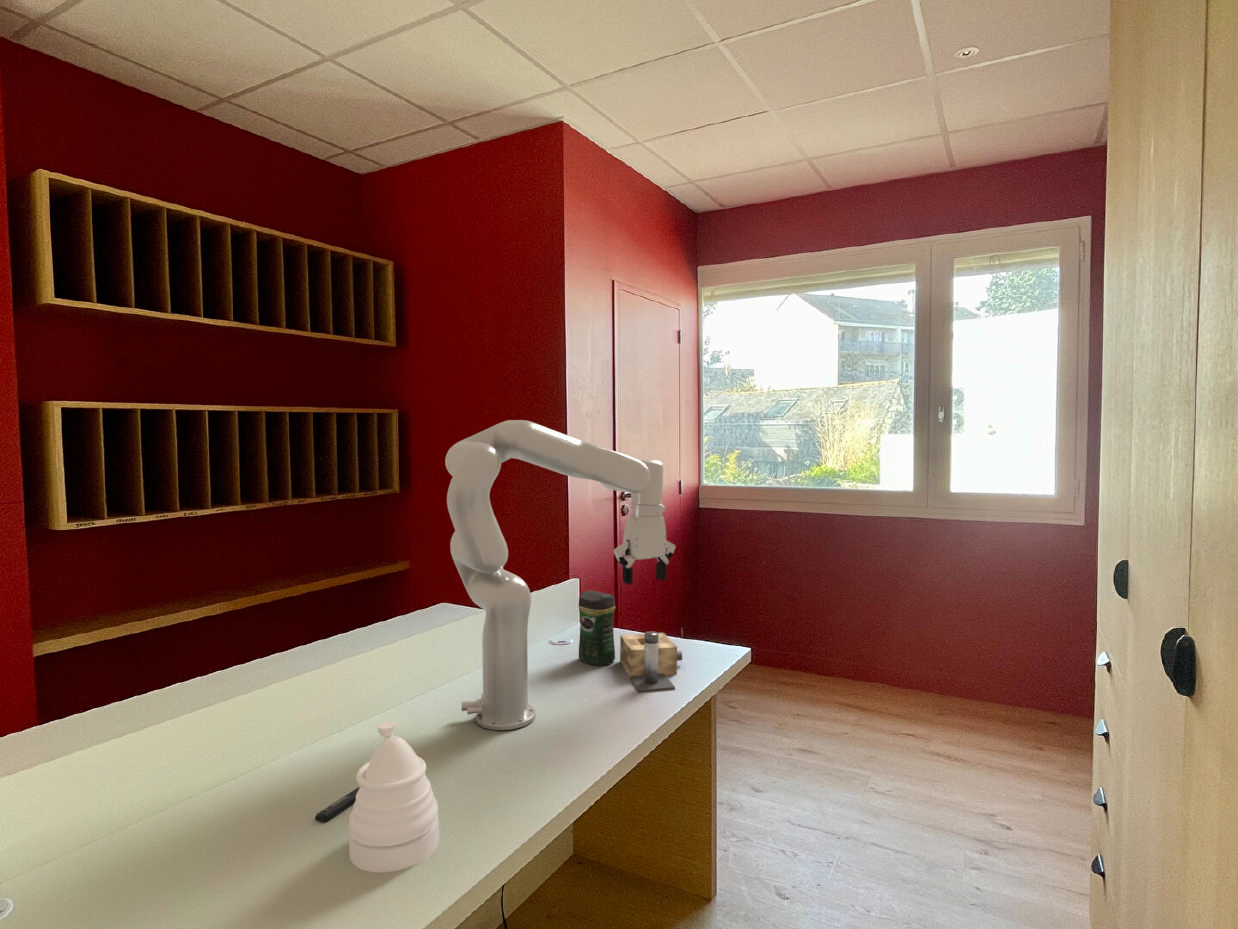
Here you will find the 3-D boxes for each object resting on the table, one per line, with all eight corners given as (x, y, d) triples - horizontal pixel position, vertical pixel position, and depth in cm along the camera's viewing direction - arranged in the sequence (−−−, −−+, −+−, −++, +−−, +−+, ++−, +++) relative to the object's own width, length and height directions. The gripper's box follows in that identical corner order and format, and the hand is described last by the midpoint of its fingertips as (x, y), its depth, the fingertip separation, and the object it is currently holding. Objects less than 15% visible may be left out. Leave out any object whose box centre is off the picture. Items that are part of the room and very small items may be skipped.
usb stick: (357, 793, 119) (357, 784, 119) (369, 796, 118) (369, 788, 118) (313, 822, 110) (313, 813, 110) (325, 826, 109) (325, 817, 109)
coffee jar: (620, 660, 184) (620, 592, 182) (599, 668, 178) (600, 598, 176) (593, 652, 190) (593, 586, 189) (573, 660, 184) (573, 591, 183)
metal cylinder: (641, 681, 168) (641, 633, 167) (652, 678, 170) (652, 630, 169) (650, 685, 165) (650, 636, 164) (661, 682, 167) (661, 634, 166)
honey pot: (334, 844, 104) (332, 728, 103) (413, 810, 113) (411, 704, 112) (372, 885, 95) (370, 759, 94) (454, 845, 104) (453, 729, 103)
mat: (638, 692, 162) (638, 690, 162) (629, 678, 171) (629, 676, 171) (674, 689, 164) (674, 687, 164) (664, 675, 173) (664, 673, 173)
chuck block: (630, 677, 171) (631, 650, 171) (620, 661, 183) (620, 635, 183) (688, 673, 175) (688, 646, 174) (674, 657, 186) (674, 632, 186)
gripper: (666, 508, 172) (664, 575, 173) (607, 510, 163) (605, 582, 164) (684, 511, 166) (682, 581, 167) (624, 514, 157) (622, 588, 158)
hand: (644, 581), depth 166 cm, fingers open, 9 cm apart
